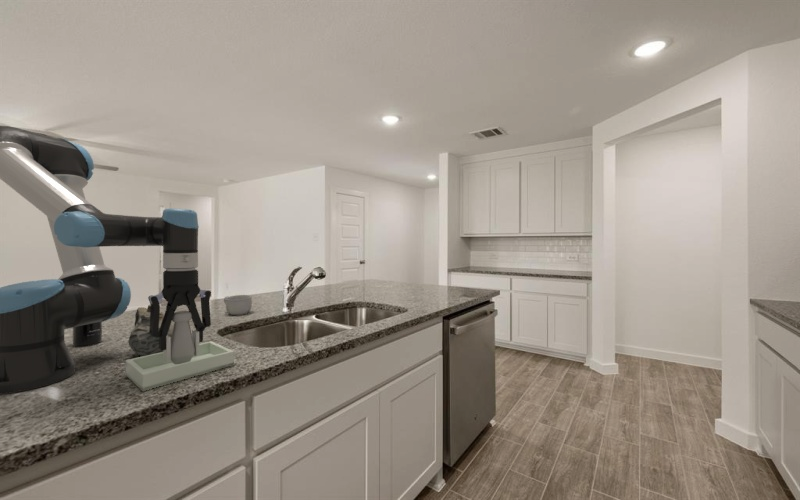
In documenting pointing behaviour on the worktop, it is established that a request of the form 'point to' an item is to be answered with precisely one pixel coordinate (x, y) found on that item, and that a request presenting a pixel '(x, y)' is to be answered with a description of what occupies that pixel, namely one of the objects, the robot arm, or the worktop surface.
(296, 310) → the worktop surface
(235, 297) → the teacup
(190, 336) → the salt shaker
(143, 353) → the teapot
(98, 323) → the supplement bottle
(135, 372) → the tray
